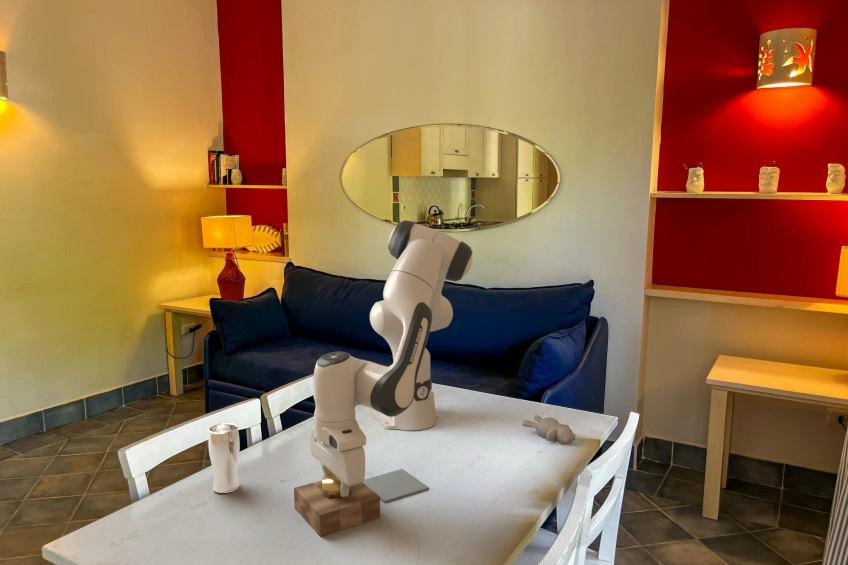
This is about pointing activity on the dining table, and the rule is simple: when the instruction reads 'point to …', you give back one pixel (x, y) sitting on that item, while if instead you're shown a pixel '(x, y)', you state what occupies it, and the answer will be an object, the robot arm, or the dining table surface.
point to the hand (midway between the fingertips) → (336, 488)
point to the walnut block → (336, 507)
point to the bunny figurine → (551, 429)
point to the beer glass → (224, 456)
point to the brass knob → (331, 486)
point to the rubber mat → (395, 485)
